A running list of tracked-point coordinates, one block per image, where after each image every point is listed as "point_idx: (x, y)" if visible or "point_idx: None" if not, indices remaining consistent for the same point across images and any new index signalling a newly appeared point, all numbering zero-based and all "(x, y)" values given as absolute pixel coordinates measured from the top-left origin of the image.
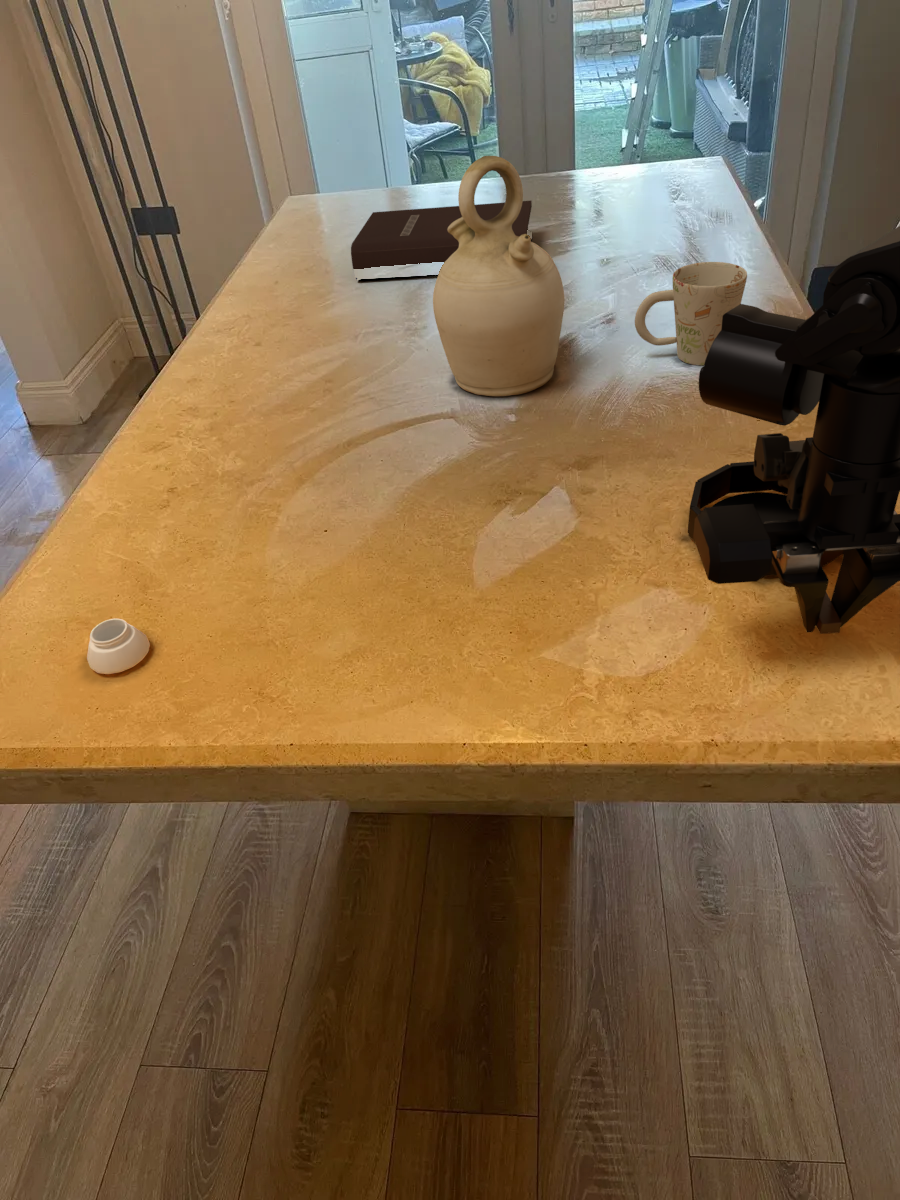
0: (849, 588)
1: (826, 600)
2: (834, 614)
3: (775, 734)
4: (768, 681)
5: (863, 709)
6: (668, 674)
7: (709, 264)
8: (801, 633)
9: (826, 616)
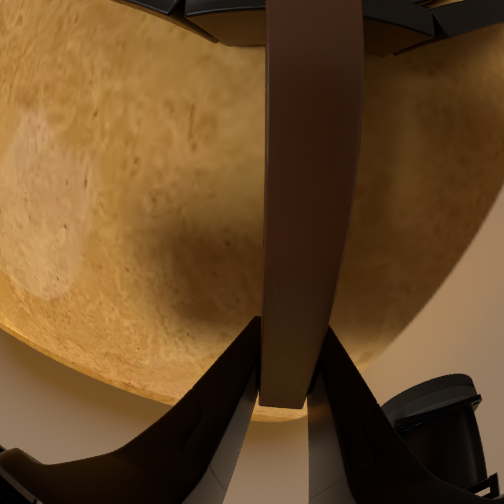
0: (316, 472)
1: (303, 366)
2: (299, 395)
3: None
4: (185, 350)
5: None
6: (69, 306)
7: None
8: None
9: (277, 397)
